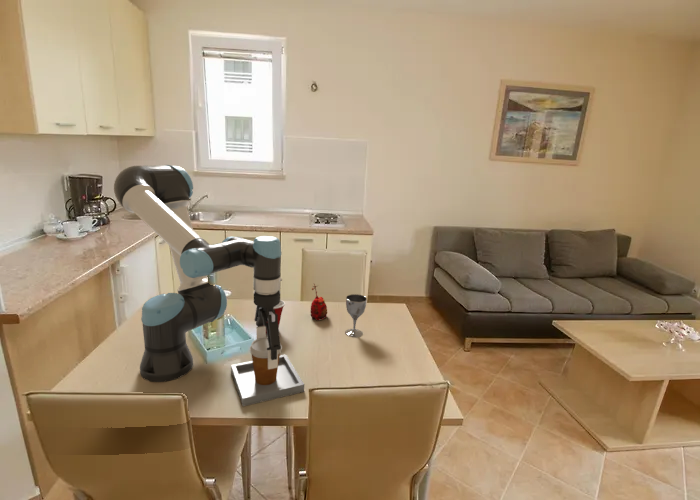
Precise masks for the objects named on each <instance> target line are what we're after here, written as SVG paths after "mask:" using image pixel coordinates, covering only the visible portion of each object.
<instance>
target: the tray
mask: <svg viewBox="0 0 700 500" xmlns="http://www.w3.org/2000/svg"><path fill="white" fill-rule="evenodd" d="M230 372H231V376H232V378H233V381H234V384H235V387H236V390H237V393H238V397H239V399H240V402H241V405H242V407H246V406H250V405H254V404H258V403H262V402H266V401H272V400H275V399H279V398H283V397H288V396H291V395H295V394H296V395H297V394H299V393H300V392H301V393H304V392H305V383H304V381H303V379H302V378H301V377H300V374H299V372H298V371H297V369H296V368H295V367H294V365H293V364H292V362H291V359H290V358H289V357H288V355H287V354H285V353H284V354H280V357H279V363H278V370H277V376H276V381H275V382H274V383H272V384H269V385H260V384H258V383H257V382H256V381H255V374H254V367H253V361H252V360H250V361H249V360H248V361H244V362H239V363H233V364H230Z"/></svg>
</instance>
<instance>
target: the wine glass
mask: <svg viewBox="0 0 700 500" xmlns="http://www.w3.org/2000/svg"><path fill="white" fill-rule="evenodd" d="M345 298H346V299H345V306H346V307H345V308H346V312H347V313H348V315H349V316H350V317H351V318H352V323H353V327H352V328H350V329H346V330H345V331H344V332H345V335H346V336H347V337H350V338H360V337H362V336H363V335H364V332H363V331H362V330H360V329H357V328H356V325H357V321H358V319H359V318H360V317H362V315H363V314H364V313H365V310H366V308H367V302H368V299H367V297H366V296H365V295H362V294H360V293H352V294H348V295H347V296H346V297H345Z"/></svg>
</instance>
